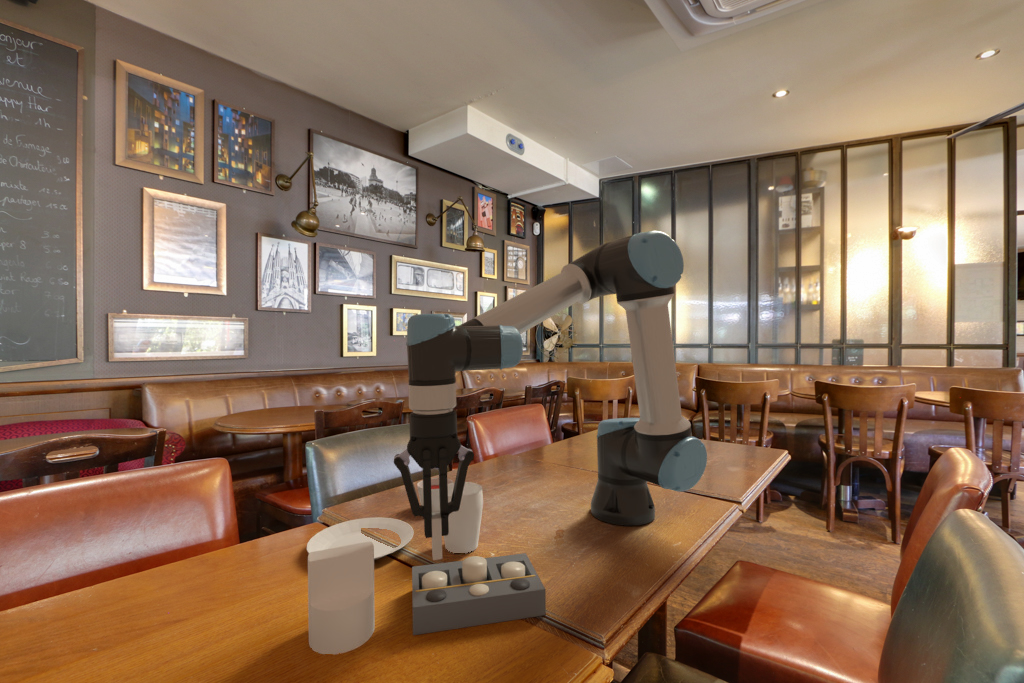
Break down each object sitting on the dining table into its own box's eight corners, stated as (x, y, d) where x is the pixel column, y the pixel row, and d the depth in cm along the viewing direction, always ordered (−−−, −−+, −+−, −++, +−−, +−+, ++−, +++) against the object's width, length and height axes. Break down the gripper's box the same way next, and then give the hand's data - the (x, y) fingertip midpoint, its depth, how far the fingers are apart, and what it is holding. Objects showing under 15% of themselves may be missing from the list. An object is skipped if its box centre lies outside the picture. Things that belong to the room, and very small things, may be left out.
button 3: (446, 592, 75) (446, 569, 75) (448, 606, 71) (448, 582, 71) (421, 595, 74) (421, 572, 74) (422, 609, 70) (422, 585, 70)
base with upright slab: (308, 662, 59) (307, 572, 59) (309, 623, 68) (308, 544, 68) (378, 643, 63) (377, 558, 63) (371, 608, 71) (370, 533, 71)
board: (525, 575, 81) (525, 552, 81) (545, 614, 69) (545, 587, 69) (412, 590, 76) (412, 565, 76) (412, 635, 65) (412, 606, 65)
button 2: (484, 577, 76) (484, 554, 76) (488, 590, 72) (488, 566, 72) (461, 580, 75) (460, 557, 75) (464, 593, 71) (463, 569, 71)
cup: (476, 559, 87) (476, 497, 87) (432, 555, 89) (432, 494, 89) (488, 539, 96) (487, 482, 96) (448, 535, 98) (447, 480, 98)
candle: (440, 499, 120) (440, 475, 120) (460, 508, 114) (460, 483, 114) (410, 508, 114) (410, 483, 114) (429, 518, 107) (429, 491, 107)
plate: (345, 523, 105) (344, 514, 105) (429, 530, 101) (429, 520, 101) (282, 568, 85) (282, 556, 85) (384, 579, 80) (384, 567, 80)
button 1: (521, 582, 78) (521, 560, 78) (527, 595, 74) (527, 571, 74) (499, 585, 77) (499, 563, 77) (504, 598, 73) (503, 575, 73)
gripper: (470, 404, 77) (473, 540, 78) (391, 408, 74) (396, 550, 75) (476, 411, 70) (480, 561, 70) (390, 416, 67) (394, 573, 67)
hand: (437, 555), depth 73 cm, fingers closed
